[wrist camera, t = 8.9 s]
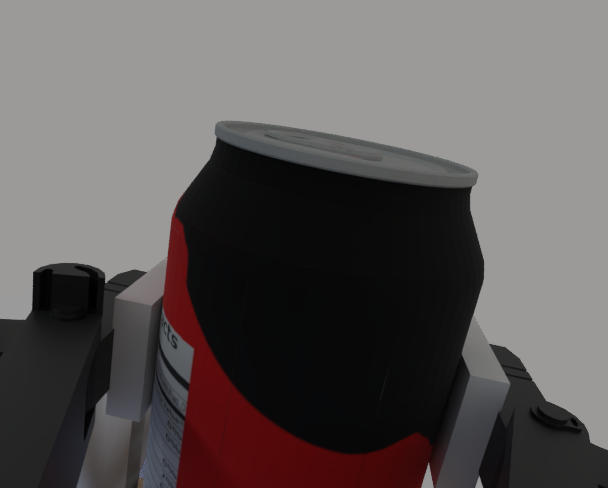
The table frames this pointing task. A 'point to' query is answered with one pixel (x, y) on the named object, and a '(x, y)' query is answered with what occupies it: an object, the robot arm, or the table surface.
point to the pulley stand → (115, 451)
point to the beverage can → (311, 313)
